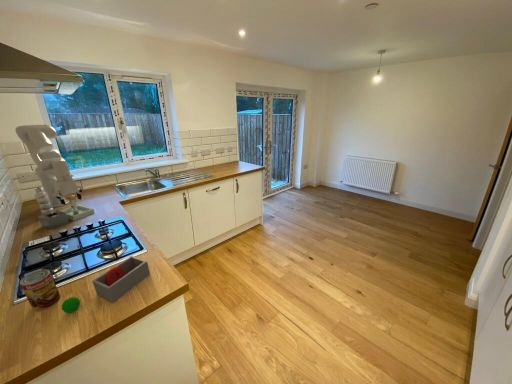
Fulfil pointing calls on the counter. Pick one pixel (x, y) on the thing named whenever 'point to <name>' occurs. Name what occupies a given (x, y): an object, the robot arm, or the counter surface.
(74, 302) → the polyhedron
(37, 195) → the plastic bottle
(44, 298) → the canned food
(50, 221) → the hitch block
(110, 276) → the red rounded piece
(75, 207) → the hitch pin
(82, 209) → the tray
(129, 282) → the grey open box
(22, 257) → the counter surface
